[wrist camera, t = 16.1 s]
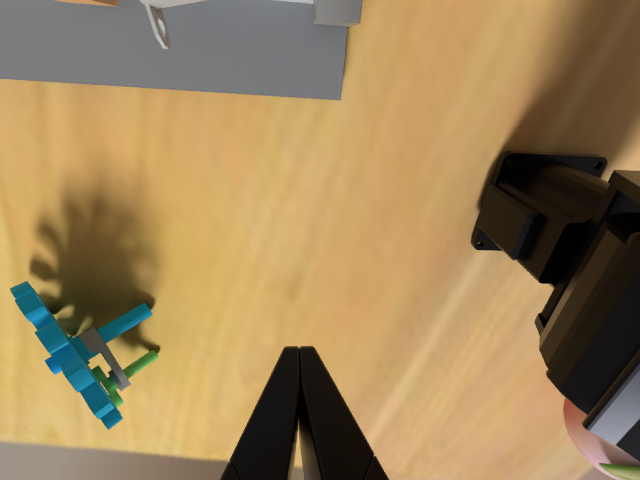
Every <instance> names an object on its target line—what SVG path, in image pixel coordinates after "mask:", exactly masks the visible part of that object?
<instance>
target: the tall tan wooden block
mask: <svg viewBox="0 0 640 480" xmlns="http://www.w3.org/2000/svg"><path fill="white" fill-rule="evenodd" d="M56 1H61V2H68V3H80V4H91V5H103V6H115V7H119V6H118V1H117V0H56Z"/></svg>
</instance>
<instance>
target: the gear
mask: <svg viewBox="0 0 640 480" xmlns="http://www.w3.org/2000/svg"><path fill="white" fill-rule="evenodd" d="M10 290H11V292H12V294H13V296H14V297H15V298H16V300H15V302H16V304H17V305H18V307H19V308H20V310H21V311H22V313H23V314H24V316H25V317H26V318H27V319H28V321H29V322H30V321H31V322H32V323H33V325H34V326H35V327H36V329H37V330H38V331H36V332H35V334H36V335H37V337H38V338H39V340H40V341H41V342H42V344H43V345H44V347H45V348H46V349H47V351H48V352H49V353H50V354H51V356H52V357H50V358H48V359H46V360H45V362H46V364H47V365H48V367H49V368H50V370H51V371H52V372H53V373H54V374H57V373H59V372H60V371H63V373H64V375H65V377H66V378H67V380H68V381H69V382H70V384H71V385H72V386H73V388H74V389H75V390H76V391H77V392H80V393H81V395H82V396H83V398H84V399H85V401H86V403H87V405H88V406H89V408H90V409H91V411H92V412H93V414H94V415H95V416H96V417H97V418H98V419H101V420H102V422H103V423H104V425H105V426H106V427H107V429H108V430H109V429H110V428H111V427H112V426H114V425H115V424H116V423H118V422H119V421H120V420H122V419H123V418H122V416H121V414H120V412H119V411H118V409H117V407H118V406H120V405H121V404H122V403H124V401H123V400H122V398H121V397H120V396H119V394H118V393H117V391H116V389H117V388H119V389H120V391H122V390H123V389H125V388H126V387H128V386H129V385H130V382H129V380H128V378H130V377H131V376H132V375H134V374H135V373H137V372H138V371H140V370H141V369H142V368H144V367H145V366H147V365H148V364H149V363H151V362H152V361H154V360H155V359H157V358H158V355H157V353H156V352H155V351H154V350H151V351H150V352H148V353H147V354H145V355H144V356H142V357H141V358H140V359H138V360H137V361H135V362H134V363H132V364H131V365H129V366H128V367H126V368H125V369H123V370H122V369H121V367H120V366H119V364H118V363H117V361H116V359H115V358H114V356H113V354H112V353H111V351H110V350H109V348H108V346H107V345H106V343H107V342H109V341H111V340H112V339H114V338H116V337H117V336H119V335H120V334H122V333H124V332H125V331H127V330H129V329H130V328H132V327H133V326H135V325H137V324H138V323H140V322H142V321H143V320H145V319H146V318H148V317H150V316H151V315H152V313H151V311H150V309H149V307H148V306H147V305H146V304H145V303H143V304H141V305H139V306H137V307H136V308H134V309H132V310H131V311H129V312H127V313H125V314H124V315H122V316H120V317H119V318H117V319H115V320H113V321H112V322H110V323H108V324H106V325H105V326H103V327H101V328H100V329H98V330H96V329H95V328H94V327H92V328H90V329H88V330H86V331H85V332H83V333H81V334H79V335H78V336H76V337H74V338H72V336H69V337H68V336H67V334H66V333H65V332H64V330H62V328H61V327H60V325H59V324H58V322H57V321H56V319H55V318H54V316H53V315H52V313H51V312H50V310H49V309H48V308H47V306H46V305H45V304H44V303H43V301H42V300H41V298H40V297H39V296H38V294H37V293H36V291H35V290H34V289H33V288H32V287H31V286H30V284H29V283H28V281H26V282H24V283H22V284H19V285H17V286H15V287H13V288H10ZM100 352H101V354H102V355H103V357H104V358H105V360H106V361H107V363H108V364H109V366H110V367H111V369H112V370H111V371H109V372H108V373H109V375H110V377H108V378H107V377H106V375H105V374H104V372H103V371H102V370H101V368H100V367H99V365H98V366H96V367H95V368H93V369H92V370H91V369H90V367H89V366H88V364H89V363H90V362H89V361H88V360H89V359H91V358H92V357H94V356H96V355H97V354H99V353H100ZM100 382H101V383H102V384H103V386H104V387H105V389H106V390H107V391H108V393H109V394H110V395H108V394H107V392H106V391H105V389H104V388H103V386H102V385H101V384H100Z"/></svg>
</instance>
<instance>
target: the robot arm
mask: <svg viewBox="0 0 640 480" xmlns="http://www.w3.org/2000/svg"><path fill="white" fill-rule="evenodd" d="M511 157H512V158H511ZM509 158H511V161H510V162H509V163H507V160H508V159H509ZM596 163H597V165H596V166H595V164H596ZM606 165H607V160H606V158H603V157H601V156H597V155H579V154H559V153H540V152H521V151H507V152H505V153H503V154H502V155H501V156H500V158H499V161H498V164H497V167H496V170H495V173H494V175H493V178H492V181H491V184H490V187H489V188H488V190H487V192H486V195H485V198H484V201H483V204H482V207H481V210H480V213H479V216H478V219H477V222H476V224H477V225H476V228H475V231H474V234H473V237H472V240H471V244H472V246H473V247H474V248H475V249H476V250H497V251H504V252H505V253H506V254H507V255H508V256H509V257H510V258H511V259H512V260H516V261H517V262H518V263H520V264H521V265H522V266H523V267H524V268H525V269H526V270H527V271H528V272H529V273H530V274H531V275H532V276H533V277H534V278H535V279H536V280H537V281H538V282H539V283H542V284H549V285H550V286H551V287H553V288H554V290H553V292H552V294H551V296H550V298H549V299H548V301H547V303H546V305H545V307H544V309H543V311H542V313H539V314H538V315H537V317H536V319H535V325H536V327H537V330H538V332H539V335H540V345H539V350H540V352H541V354H542V357H543V359H544V361H545V364H546V366H547V367H548V370H547V371H546V375H547V377H548V378H549V379H550V381H551V382H552V383H553V384H554V385H555V387H556V388H557V389H558V390H559V391H560V393H561V394H562V395H563V396H565V397H566V398H567V399H568V400H569V401H570V402H571V403H572V404H573V405H574V406H575V407H577V408H578V409H579V410H581V411H582V412H583V413H585V414H586V415H587V416H586V418H585V419H584V420H583V422H582V425H583V427H584V428H585V429H586V430H588V431H590V432H592V433H593V434H595V435H597V436H599V437H601V438H603V439H605V440H607V441H609V442H611V443H612V444H614V445H616V446H617V447H619V448H620V449H622V450H623V451H625V452H626V453H628V454H629V455H630V456H632V457H633V458H635V459H636V460H638V461H639V462H640V171H626V170H614V171H613V173H612V175H611V177H610V179H609V181H608V182H607V181H605V180H603V179H600V177H601V175H602V173H603V172H604V170H605V168H606ZM594 166H595V167H594ZM481 240H482V242H481V243H479V244H478V242H479V241H481ZM298 425H299V438H300V447H301V455H302V464H303V472H304V480H389V478H388V477H387V475H386V473H385V472H384V470H383V468H382V466H381V465H380V463H379V461H378V459H377V457H376V456H374V452H373V451H372V449H371V447H370V445H369V443H368V442H367V440H366V438H365V436H364V435H363V433H362V431H361V429H360V427H359V426H358V424H357V422H356V420H355V418H354V417H353V415H352V413H351V411H350V410H349V408H348V406H347V404H346V402H345V401H344V399H343V397H342V395H341V394H340V392H339V390H338V388H337V386H336V385H335V383H334V381H333V379H332V378H331V376H330V374H329V372H328V370H327V369H326V367H325V365H324V363H323V361H322V360H321V358H320V356H319V354H318V353H317V351H316V349H315V348H314V347H313V346H301V347H300V348H299V347H297V346H286V347H284V349H283V351H282V353H281V355H280V357H279V359H278V361H277V363H276V365H275V367H274V369H273V371H272V373H271V375H270V378H269V380H268V382H267V384H266V386H265V388H264V390H263V392H262V394H261V396H260V398H259V400H258V402H257V404H256V406H255V409H254V411H253V413H252V415H251V417H250V419H249V421H248V423H247V425H246V427H245V429H244V431H243V433H242V435H241V437H240V440H239V442H238V444H237V446H236V448H235V450H234V452H233V454H232V456H231V458H230V462H229V463H228V464H227V466H226V468H225V470H224V472H223V475H222V476H221V479H220V480H292V479H293V470H294V461H295V452H296V443H297V433H298Z"/></svg>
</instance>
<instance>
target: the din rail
mask: <svg viewBox="0 0 640 480" xmlns="http://www.w3.org/2000/svg"><path fill="white" fill-rule="evenodd" d="M117 1H118V6H119V7H115V6H103V5H91V4H80V3H68V2H61V1H56V0H0V79H14V80H30V81H46V82H61V83H77V84H93V85H108V86H124V87H140V88H155V89H171V90H187V91H202V92H218V93H234V94H249V95H265V96H281V97H296V98H312V99H328V100H341V92H342V82H343V71H344V60H345V49H346V38H347V27H351V26H354V25H356V24H359V23H360V20H361V10H362V1H363V0H205V1H199V2H194V3H188V4H183V5H177V6H172V7H166V8H162V11H163V15H164V18H165V22H166V25H167V28H168V32H169V35H170V42H171V47H170V48H169V49H163V47H162V46H161V44H160V43H159V41H158V40H157V38H156V36H155V34H154V31H153V28H152V25H151V22H150V19H149V16H148V13H147V10H146V7H145V5H144V4H142V3H141V1H140V0H117ZM158 27H159V29H160V31H161V34H162V36H163V32H162V29H161V27H160V25H159V22H158ZM163 38H164V37H163Z"/></svg>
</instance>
